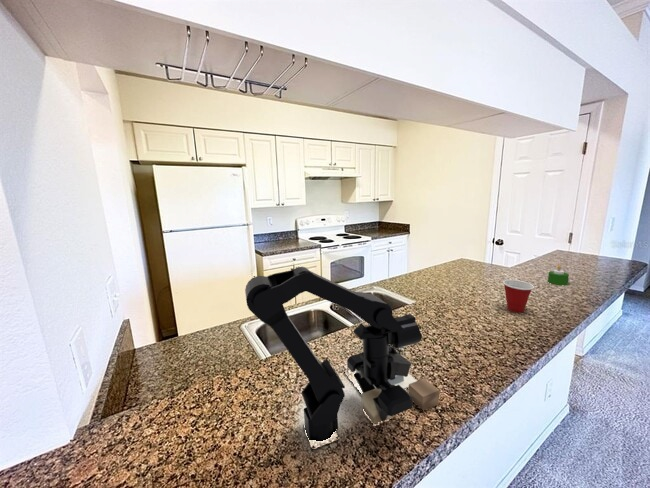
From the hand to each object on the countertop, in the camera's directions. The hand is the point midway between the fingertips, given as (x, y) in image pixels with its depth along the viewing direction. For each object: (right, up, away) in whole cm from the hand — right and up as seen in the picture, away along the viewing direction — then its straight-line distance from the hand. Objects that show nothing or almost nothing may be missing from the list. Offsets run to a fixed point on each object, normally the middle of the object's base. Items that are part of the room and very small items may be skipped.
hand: (377, 411), depth 64 cm
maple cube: (0, -1, 0) cm, 1 cm away
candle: (+113, +18, +83) cm, 141 cm away
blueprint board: (+3, +1, +13) cm, 14 cm away
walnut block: (+12, 0, +4) cm, 13 cm away
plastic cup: (+70, +11, +52) cm, 88 cm away
